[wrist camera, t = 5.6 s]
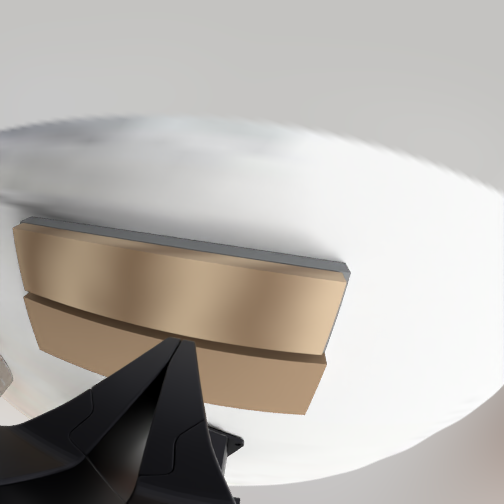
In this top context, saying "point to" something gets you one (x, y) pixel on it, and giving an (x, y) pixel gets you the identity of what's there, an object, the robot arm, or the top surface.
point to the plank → (182, 289)
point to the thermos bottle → (4, 376)
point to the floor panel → (183, 337)
